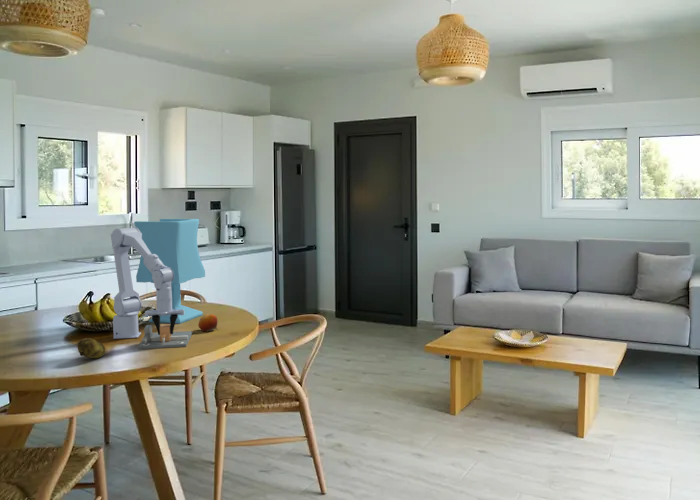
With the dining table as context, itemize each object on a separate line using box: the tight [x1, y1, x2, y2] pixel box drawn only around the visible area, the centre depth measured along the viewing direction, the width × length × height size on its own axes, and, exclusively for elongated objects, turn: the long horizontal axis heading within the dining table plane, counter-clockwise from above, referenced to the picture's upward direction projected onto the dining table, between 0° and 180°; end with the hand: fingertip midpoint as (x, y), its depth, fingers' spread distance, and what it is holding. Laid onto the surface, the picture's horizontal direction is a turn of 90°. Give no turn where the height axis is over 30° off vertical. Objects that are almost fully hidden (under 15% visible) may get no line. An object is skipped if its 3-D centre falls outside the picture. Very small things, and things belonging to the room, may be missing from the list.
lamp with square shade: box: [133, 218, 206, 325], centre depth 299 cm, size 22×22×45 cm
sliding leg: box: [160, 323, 172, 343], centre depth 253 cm, size 4×9×6 cm, turn 7°
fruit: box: [198, 313, 219, 332], centre depth 275 cm, size 8×8×8 cm
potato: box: [76, 337, 106, 359], centre depth 233 cm, size 8×13×8 cm, turn 157°
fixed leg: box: [143, 324, 153, 344], centre depth 252 cm, size 2×9×6 cm, turn 7°
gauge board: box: [137, 330, 193, 350], centre depth 258 cm, size 18×22×2 cm
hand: (165, 334), depth 255 cm, fingers open, 4 cm apart
